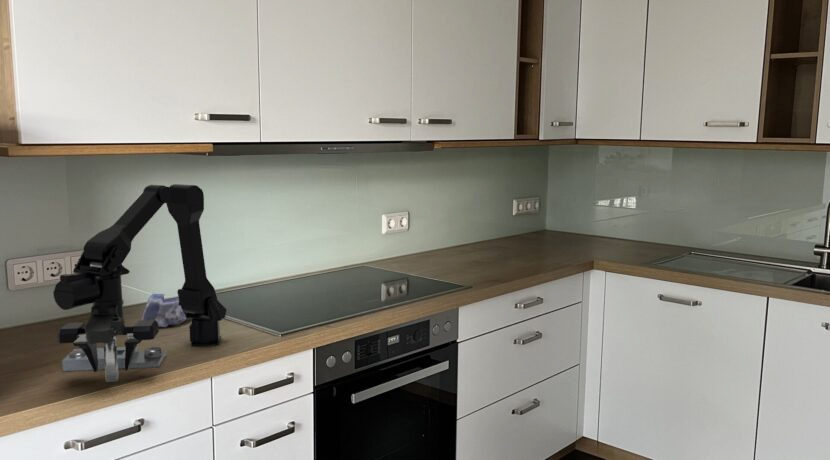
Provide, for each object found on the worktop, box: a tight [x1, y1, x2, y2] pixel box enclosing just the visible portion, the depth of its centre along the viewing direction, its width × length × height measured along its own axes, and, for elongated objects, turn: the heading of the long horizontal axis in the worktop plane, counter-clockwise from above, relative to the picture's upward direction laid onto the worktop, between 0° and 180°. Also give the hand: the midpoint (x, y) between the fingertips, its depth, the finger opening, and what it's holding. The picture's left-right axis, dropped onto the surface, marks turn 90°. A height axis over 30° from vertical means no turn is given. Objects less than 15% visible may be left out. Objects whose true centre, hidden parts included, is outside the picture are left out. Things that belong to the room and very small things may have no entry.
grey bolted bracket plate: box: [61, 346, 167, 372], centre depth 157 cm, size 20×8×3 cm, turn 99°
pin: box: [103, 336, 119, 383], centre depth 146 cm, size 2×2×9 cm
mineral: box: [140, 293, 188, 328], centre depth 188 cm, size 14×10×10 cm
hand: (111, 370), depth 147 cm, fingers open, 6 cm apart
